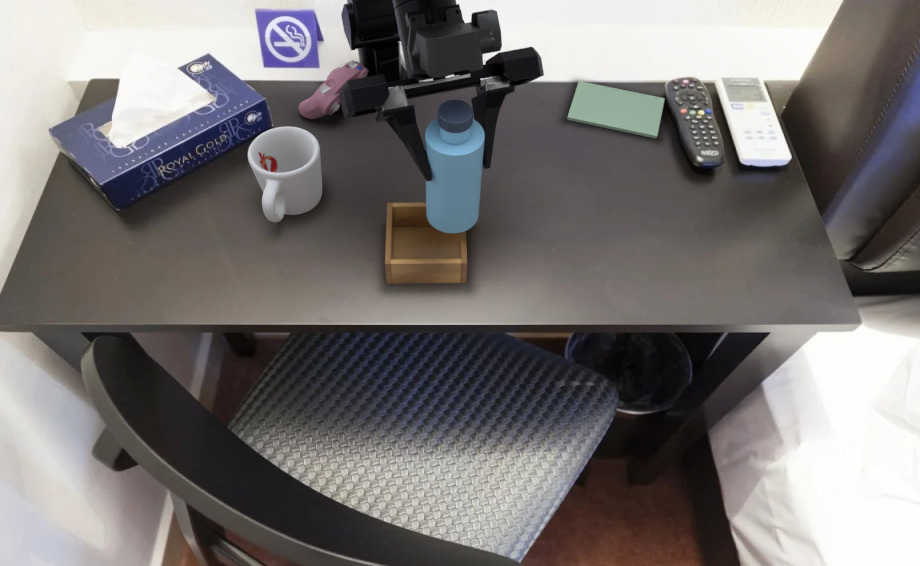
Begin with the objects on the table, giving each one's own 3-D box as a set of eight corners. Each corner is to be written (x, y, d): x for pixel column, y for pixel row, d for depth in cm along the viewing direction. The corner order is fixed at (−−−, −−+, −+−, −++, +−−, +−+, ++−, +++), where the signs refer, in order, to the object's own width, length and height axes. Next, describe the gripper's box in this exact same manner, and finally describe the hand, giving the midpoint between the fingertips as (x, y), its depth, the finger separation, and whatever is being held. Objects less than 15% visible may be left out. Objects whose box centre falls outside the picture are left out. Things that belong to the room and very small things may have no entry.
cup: (310, 247, 77) (297, 199, 70) (244, 236, 77) (226, 187, 71) (337, 181, 82) (328, 130, 76) (276, 171, 83) (261, 120, 76)
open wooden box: (387, 287, 74) (384, 263, 70) (389, 227, 78) (387, 202, 75) (465, 286, 74) (467, 263, 70) (463, 227, 79) (464, 202, 75)
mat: (566, 120, 89) (567, 117, 89) (578, 83, 93) (578, 80, 93) (656, 139, 87) (657, 136, 87) (663, 101, 92) (665, 98, 91)
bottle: (416, 207, 72) (412, 104, 60) (459, 187, 73) (464, 83, 62) (444, 241, 69) (446, 140, 58) (488, 219, 71) (498, 117, 59)
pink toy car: (320, 136, 89) (332, 106, 83) (293, 113, 88) (304, 81, 82) (363, 96, 94) (378, 65, 88) (338, 73, 93) (352, 41, 87)
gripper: (329, -4, 52) (373, 195, 55) (551, -39, 55) (580, 151, 59) (323, 29, 62) (361, 194, 66) (509, -2, 66) (536, 157, 69)
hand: (458, 174), depth 65 cm, fingers closed on bottle, 5 cm apart
